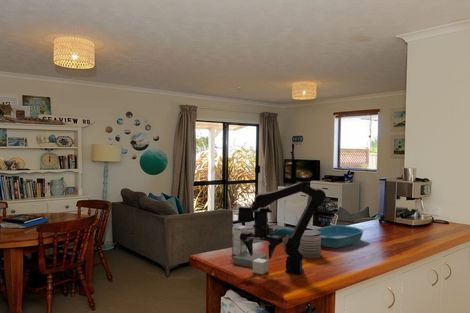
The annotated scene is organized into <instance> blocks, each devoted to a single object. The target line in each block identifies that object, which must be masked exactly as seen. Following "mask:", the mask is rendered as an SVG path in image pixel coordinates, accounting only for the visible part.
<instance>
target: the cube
mask: <svg viewBox="0 0 470 313" xmlns="http://www.w3.org/2000/svg"><path fill="white" fill-rule="evenodd" d="M268 267H269V261H268V259H267V260H265V259H260V258H257V259H256V260H254V261H253V267H252V273H255V274H261V275H264V274H266V273H267V272H268V270H269V268H268Z"/></svg>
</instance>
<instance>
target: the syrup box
mask: <svg viewBox="0 0 470 313" xmlns="http://www.w3.org/2000/svg"><path fill="white" fill-rule="evenodd" d="M248 229H249V228H248V226H246V225H242V224H238V225H235V226H232V234H231V238H232V240H231V254H232V255H233V254H234V256H236V255H239V254H241V253H243V252H245V251H247V252H248V249H247V247H246V245H245V243H244V242H242V240H240V234H241V233H243V232H246V231H247V232H248Z"/></svg>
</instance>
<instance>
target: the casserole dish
mask: <svg viewBox="0 0 470 313" xmlns="http://www.w3.org/2000/svg"><path fill="white" fill-rule="evenodd" d="M314 230H317V231H320V232H321V233H320V234H321V247H322V246H323V247H328V248H330V247H331V248H332V249H339V247H340V248H343V246H344V247H347V246H350V245H353V244H355V243H358V242H359V241H360V240H361V239H362V237H363V233H364V230H363V229H361V228H359V227H355V226H351V225H343V224H342V225H341V224H334V225H327V226H324V227H319V228H315V229H314ZM352 243H353V244H352ZM349 244H350V245H349Z"/></svg>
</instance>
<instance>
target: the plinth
mask: <svg viewBox="0 0 470 313" xmlns="http://www.w3.org/2000/svg"><path fill="white" fill-rule="evenodd" d="M257 258H260V259H265V260H268V254H263V253H259V252H258V253H257V252H253V255H252V256H251V255H250V253H249V251H248V250H247V251H245V252H243V253H241V254H239V255H234V256H232V264H234V265H239V266H244V267H248V268H253V261H254V260H256V259H257Z"/></svg>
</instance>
